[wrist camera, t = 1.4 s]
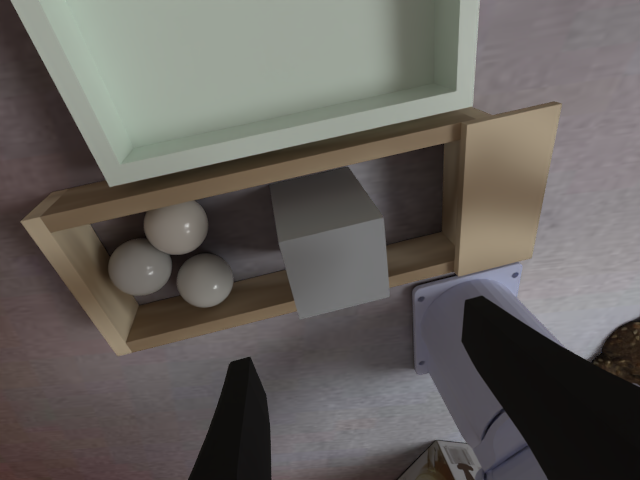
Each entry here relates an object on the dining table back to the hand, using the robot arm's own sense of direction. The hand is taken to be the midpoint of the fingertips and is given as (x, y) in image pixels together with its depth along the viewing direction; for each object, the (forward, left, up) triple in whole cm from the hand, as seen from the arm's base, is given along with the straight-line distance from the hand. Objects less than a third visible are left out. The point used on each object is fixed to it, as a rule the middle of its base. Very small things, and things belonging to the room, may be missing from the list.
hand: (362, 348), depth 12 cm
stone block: (0, 0, -11) cm, 11 cm away
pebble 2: (+2, +7, -10) cm, 13 cm away
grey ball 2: (-2, +7, -10) cm, 13 cm away
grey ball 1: (0, +9, -10) cm, 14 cm away
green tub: (+9, 0, -10) cm, 14 cm away
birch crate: (0, 0, -10) cm, 10 cm away
